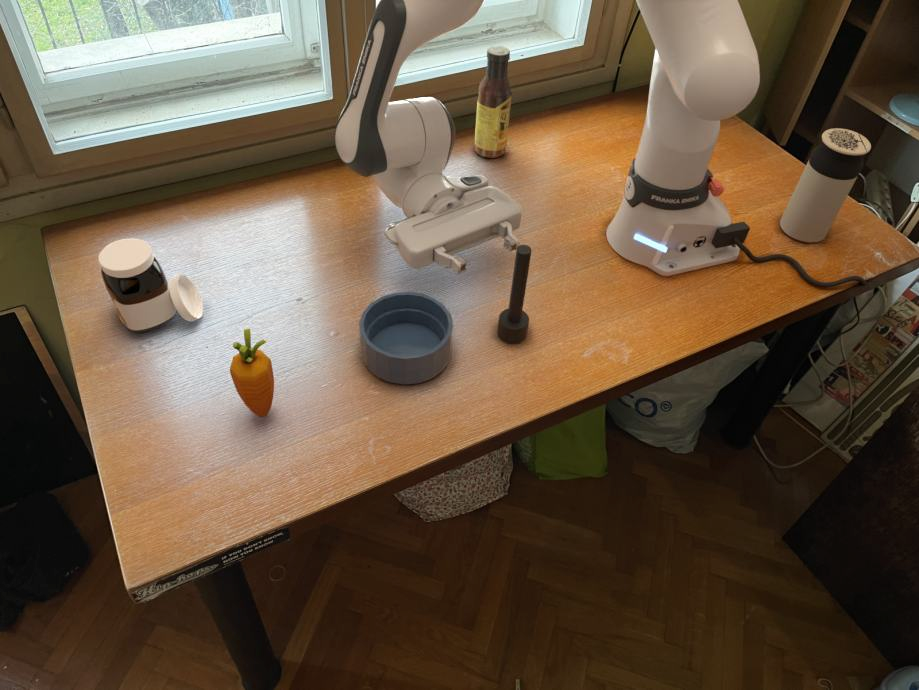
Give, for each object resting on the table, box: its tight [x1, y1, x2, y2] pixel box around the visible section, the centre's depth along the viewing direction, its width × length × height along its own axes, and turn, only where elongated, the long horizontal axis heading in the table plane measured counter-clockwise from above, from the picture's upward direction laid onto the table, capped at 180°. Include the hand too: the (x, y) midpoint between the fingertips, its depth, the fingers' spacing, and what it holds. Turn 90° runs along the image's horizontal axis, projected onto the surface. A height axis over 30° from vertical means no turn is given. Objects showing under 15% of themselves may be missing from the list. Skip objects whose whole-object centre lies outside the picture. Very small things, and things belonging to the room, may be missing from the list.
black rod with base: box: [496, 244, 533, 345], centre depth 101 cm, size 4×4×16 cm
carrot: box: [229, 328, 275, 418], centre depth 89 cm, size 5×5×15 cm
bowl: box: [358, 291, 454, 385], centre depth 102 cm, size 13×13×6 cm
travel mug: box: [779, 127, 872, 243], centre depth 121 cm, size 8×8×18 cm
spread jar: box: [98, 237, 204, 333], centre depth 102 cm, size 12×11×12 cm
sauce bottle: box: [474, 45, 513, 159], centre depth 133 cm, size 7×6×20 cm
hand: (489, 257), depth 104 cm, fingers open, 8 cm apart
